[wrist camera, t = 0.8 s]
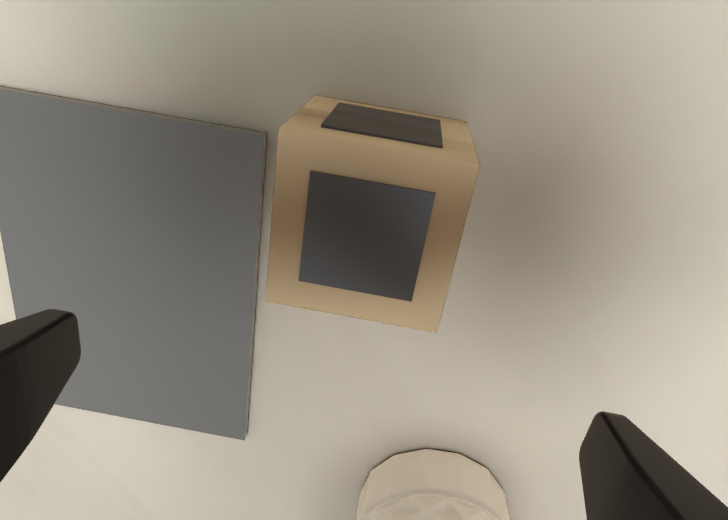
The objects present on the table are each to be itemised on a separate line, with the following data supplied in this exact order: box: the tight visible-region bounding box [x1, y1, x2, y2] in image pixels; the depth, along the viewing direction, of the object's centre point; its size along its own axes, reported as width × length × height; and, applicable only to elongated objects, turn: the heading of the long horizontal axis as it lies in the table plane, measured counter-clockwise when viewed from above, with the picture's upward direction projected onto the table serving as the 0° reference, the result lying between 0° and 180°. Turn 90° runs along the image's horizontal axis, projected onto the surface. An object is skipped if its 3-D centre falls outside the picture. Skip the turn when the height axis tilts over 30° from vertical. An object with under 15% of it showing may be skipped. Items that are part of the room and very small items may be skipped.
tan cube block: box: [265, 95, 480, 333], centre depth 16 cm, size 5×5×5 cm
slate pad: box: [0, 86, 267, 440], centre depth 21 cm, size 14×10×1 cm
